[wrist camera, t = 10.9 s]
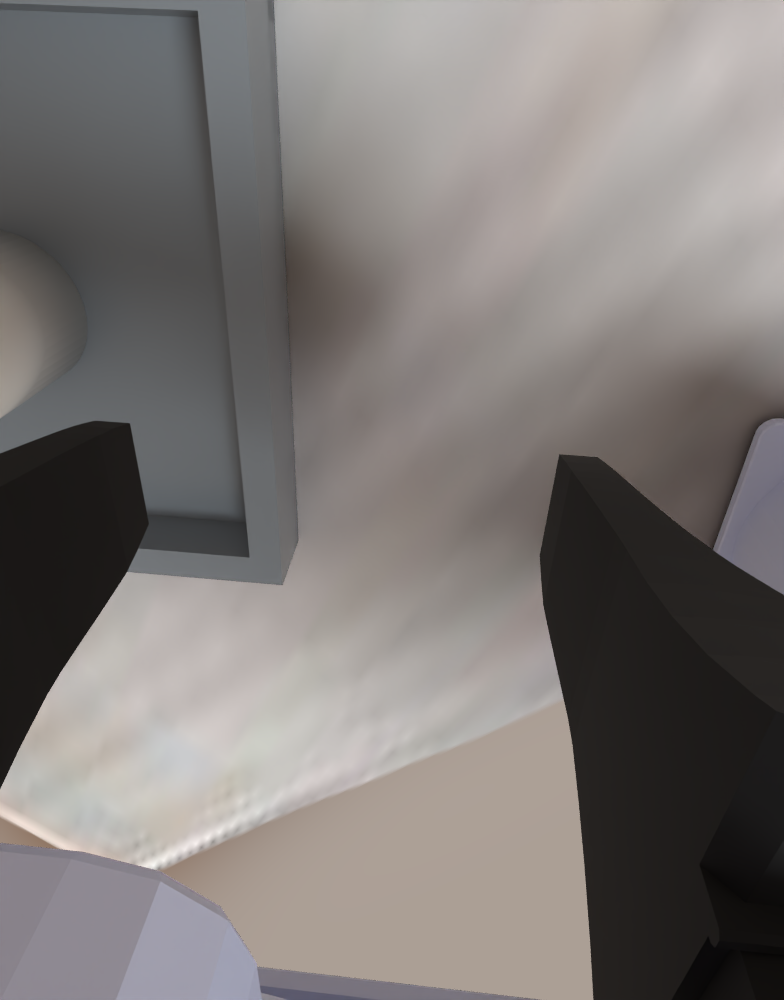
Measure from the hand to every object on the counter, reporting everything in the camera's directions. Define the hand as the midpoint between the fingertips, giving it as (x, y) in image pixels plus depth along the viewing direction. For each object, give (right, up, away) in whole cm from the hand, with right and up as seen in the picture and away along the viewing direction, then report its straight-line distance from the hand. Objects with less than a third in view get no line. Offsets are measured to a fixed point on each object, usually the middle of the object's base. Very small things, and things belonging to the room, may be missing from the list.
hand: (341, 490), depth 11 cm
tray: (-10, +6, +9) cm, 14 cm away
